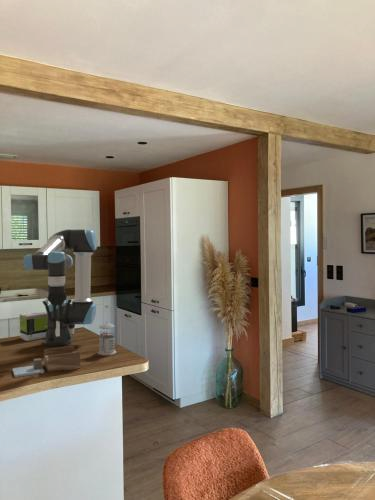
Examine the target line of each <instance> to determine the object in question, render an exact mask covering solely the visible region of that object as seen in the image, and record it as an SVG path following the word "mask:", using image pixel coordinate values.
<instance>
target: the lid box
mask: <svg viewBox="0 0 375 500" xmlns="http://www.w3.org/2000/svg"><path fill="white" fill-rule="evenodd" d="M43 366H44V368H45V370H46V371H47V373H49V372H50V373H54V372H55V371H57V372H63V371H62V370H64V371H70V370H75V369H81V351H75V345H71V346H62V347H60V346H59V347H52V348H44V349H43ZM55 373H56V372H55Z"/></svg>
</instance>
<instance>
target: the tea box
mask: <svg viewBox="0 0 375 500" xmlns="http://www.w3.org/2000/svg"><path fill="white" fill-rule="evenodd" d="M47 330H48V315H47V312H46V311H44V310H41V311H36V312H35V311H34V312H28V313H27V312H26V313H21V314H19V337H20V339H21V338H22V340H24V341H26V342H28V341H29V342H30V341H35V340H40V339H45V337H46V334H47Z"/></svg>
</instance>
